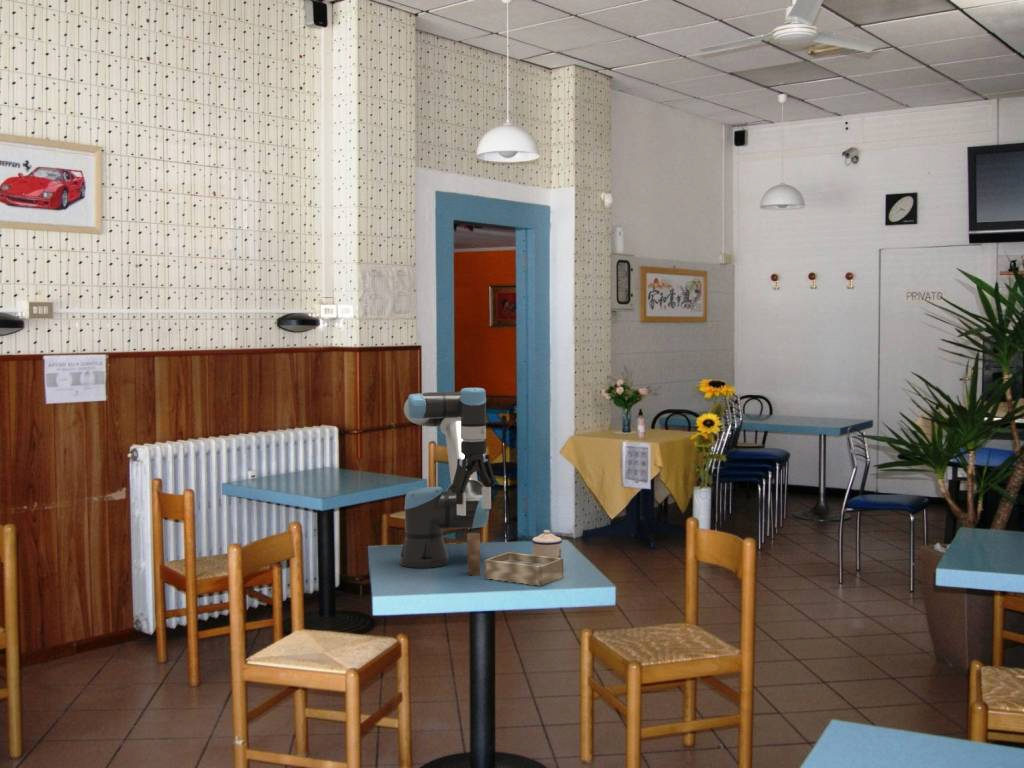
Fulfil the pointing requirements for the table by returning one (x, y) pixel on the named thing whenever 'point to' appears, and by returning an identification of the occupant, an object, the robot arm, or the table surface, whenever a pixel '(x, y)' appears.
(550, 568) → the box with hole
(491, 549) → the table surface
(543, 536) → the teacup with lid
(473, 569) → the peg
